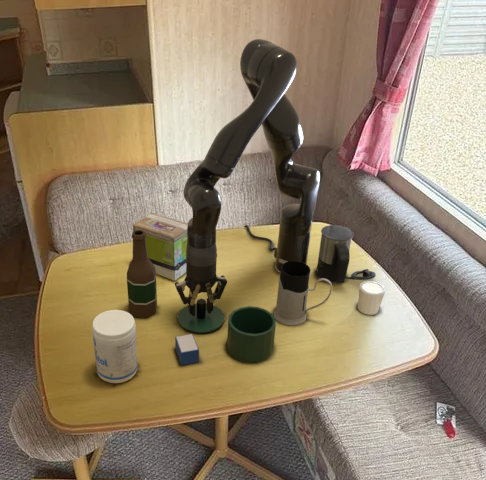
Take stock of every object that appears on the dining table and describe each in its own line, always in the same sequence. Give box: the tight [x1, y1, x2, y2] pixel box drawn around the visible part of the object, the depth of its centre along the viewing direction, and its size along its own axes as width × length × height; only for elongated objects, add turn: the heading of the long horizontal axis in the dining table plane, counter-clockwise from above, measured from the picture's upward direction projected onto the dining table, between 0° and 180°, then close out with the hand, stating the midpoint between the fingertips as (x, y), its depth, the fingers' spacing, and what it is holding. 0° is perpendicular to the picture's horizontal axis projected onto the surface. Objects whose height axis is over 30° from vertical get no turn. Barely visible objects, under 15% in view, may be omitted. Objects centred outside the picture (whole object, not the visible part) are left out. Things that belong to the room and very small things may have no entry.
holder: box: [273, 261, 333, 326], centre depth 145 cm, size 9×14×15 cm, turn 69°
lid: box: [177, 298, 226, 334], centre depth 146 cm, size 12×12×6 cm
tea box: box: [132, 212, 188, 281], centre depth 165 cm, size 15×10×15 cm, turn 58°
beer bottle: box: [126, 230, 158, 319], centre depth 144 cm, size 8×8×24 cm
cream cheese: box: [174, 333, 200, 366], centre depth 134 cm, size 6×4×4 cm
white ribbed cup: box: [357, 280, 386, 316], centre depth 151 cm, size 7×7×7 cm
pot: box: [226, 305, 277, 364], centre depth 136 cm, size 11×11×8 cm
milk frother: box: [314, 224, 377, 284], centre depth 162 cm, size 14×16×15 cm
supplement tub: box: [91, 309, 139, 384], centre depth 126 cm, size 10×10×15 cm
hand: (200, 312), depth 146 cm, fingers open, 3 cm apart
